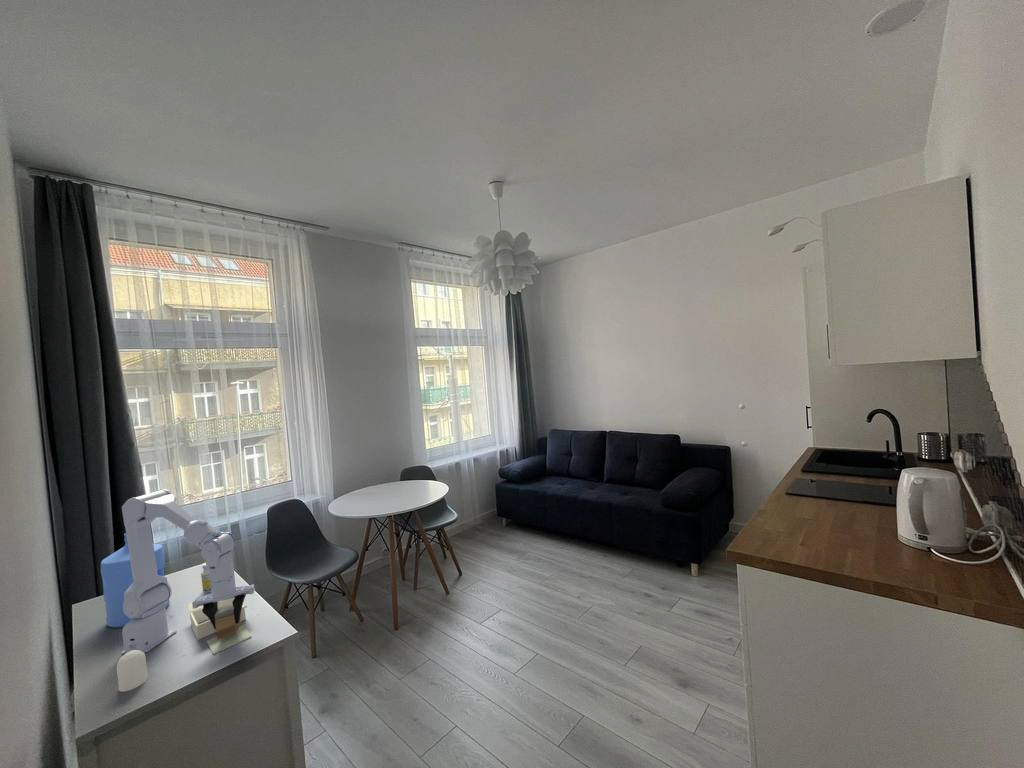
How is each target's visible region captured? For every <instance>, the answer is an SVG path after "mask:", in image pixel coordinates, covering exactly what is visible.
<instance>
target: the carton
mask: <svg viewBox="0 0 1024 768" xmlns="http://www.w3.org/2000/svg"><path fill="white" fill-rule="evenodd" d="M234 599H235V597H234V598H231V599H227V600H223V601H219V602H218V608H219V607H223V606H227V605H231V604H232V602H233V600H234ZM247 607H248V605H244V604H243V605H242V609H241V615H240V621H239V622H240V623H241V622H244V621H245V620H246V619H247V617H246V610H245V608H247ZM187 608H188V611H189V617H190V626H191V628H192V631H193V632H194V635H195V636H196V639H197V641H199V640H200V639H203V638H205V637H209V636H210V635H213V634H215V633H216V629H215V630H214V627H213V625H212V623H211V621H210V619H209V618H208V617H207V616H206V615H205V614H204V613H203V611H202V609H203V606H199V607H198V608H195V609H193V606H192V602H189V603H187Z"/></svg>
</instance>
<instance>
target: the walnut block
mask: <svg viewBox="0 0 1024 768" xmlns="http://www.w3.org/2000/svg"><path fill="white" fill-rule="evenodd" d="M214 616H215V625H216V632H215V633H216V637H217V640H218V639H222V638H225V637H229V636H232V635H236V634H237V631H238V629H239V627H240V626H241V622H239V623H237V624H236V622H235V612H234V607H233V604H231V605H227V606H223V607H219V608H218V610H217V612H216V613H215V615H214Z"/></svg>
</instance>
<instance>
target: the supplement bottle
mask: <svg viewBox="0 0 1024 768" xmlns="http://www.w3.org/2000/svg"><path fill="white" fill-rule="evenodd" d="M201 566H202V570H201V572H200V577H201V585H202V592H203V593H211V586H210V576H209V568H208V567H207V565H206V562H204V563H202V565H201Z"/></svg>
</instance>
